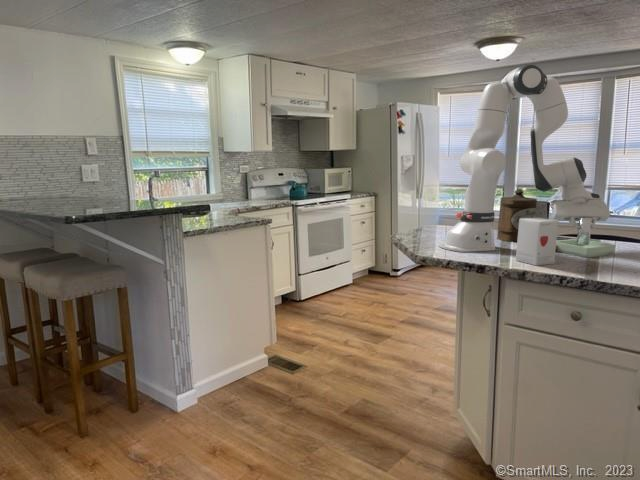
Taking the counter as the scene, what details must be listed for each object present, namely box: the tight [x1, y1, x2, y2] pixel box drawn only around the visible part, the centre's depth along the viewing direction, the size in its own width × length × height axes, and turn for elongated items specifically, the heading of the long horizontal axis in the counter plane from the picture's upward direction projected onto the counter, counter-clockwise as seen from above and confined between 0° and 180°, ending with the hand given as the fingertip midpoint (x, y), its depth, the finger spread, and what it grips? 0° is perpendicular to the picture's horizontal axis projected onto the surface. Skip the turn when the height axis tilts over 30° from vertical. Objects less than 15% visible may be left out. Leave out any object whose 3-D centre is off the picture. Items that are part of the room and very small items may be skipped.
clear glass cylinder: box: [576, 217, 592, 245], centre depth 177 cm, size 4×4×10 cm
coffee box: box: [536, 200, 551, 219], centre depth 213 cm, size 9×6×16 cm
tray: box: [556, 238, 616, 258], centre depth 179 cm, size 16×15×4 cm
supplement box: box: [515, 218, 559, 266], centre depth 160 cm, size 9×9×15 cm
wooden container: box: [497, 188, 538, 243], centre depth 204 cm, size 15×15×22 cm
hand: (585, 228), depth 177 cm, fingers closed on clear glass cylinder, 4 cm apart
